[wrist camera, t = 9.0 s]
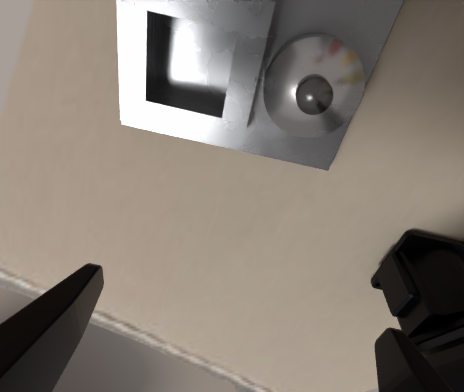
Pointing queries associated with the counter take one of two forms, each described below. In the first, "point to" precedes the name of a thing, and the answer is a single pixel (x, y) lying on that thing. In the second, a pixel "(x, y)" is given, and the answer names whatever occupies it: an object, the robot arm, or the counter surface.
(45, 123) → the counter surface
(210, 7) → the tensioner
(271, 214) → the counter surface
